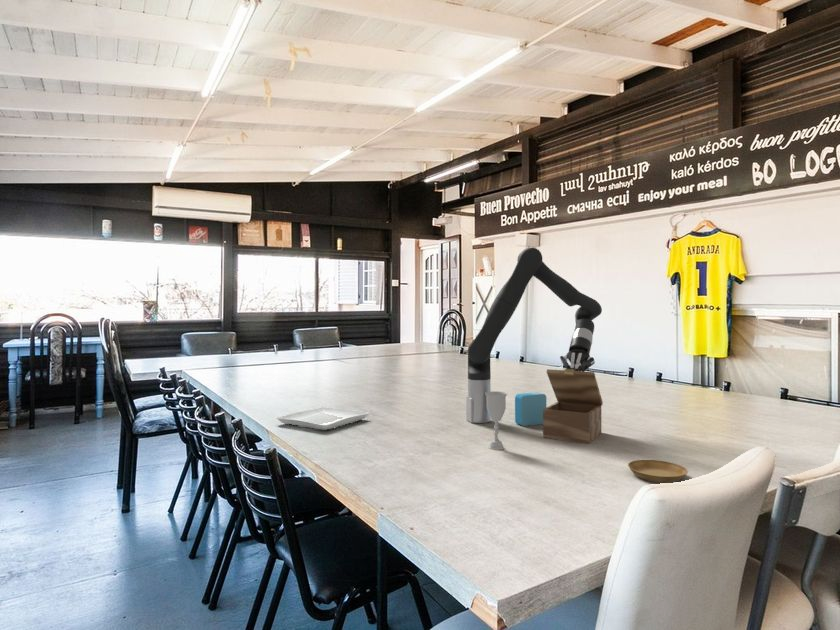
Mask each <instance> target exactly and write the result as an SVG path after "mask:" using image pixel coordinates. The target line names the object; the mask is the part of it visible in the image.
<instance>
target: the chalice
mask: <svg viewBox="0 0 840 630" xmlns="http://www.w3.org/2000/svg"><path fill="white" fill-rule="evenodd" d="M485 394H486V396H487V410H488V413H489V415H490V417H491V421H493V422H494V426H493V428H494V431H493V434H494V438H493V439H492V440H491V441H490V443H489V446H488V449H490V450H497V451H498V450H499V451H500V450H503V449H505V446H504V444H503V442H502V440H500V439H499V430H498V429H499V428H500V427H499V422H500V421H501V420H502V418H503V416H504V414H505V412H506V397H507V395H508V393H507V392H505V391H491V392H485Z"/></svg>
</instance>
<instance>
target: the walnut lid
mask: <svg viewBox="0 0 840 630" xmlns="http://www.w3.org/2000/svg"><path fill="white" fill-rule="evenodd" d="M546 375H547V377H548V380H549V382H550V385H551V388H552V390H553V394H554V396H555V398H556V402H558V401H559V402H570V403H581V404H592V405H601V406H603V399H602V395H601V391H600V388H599V384H598V381H597V378H596V373H595V371H574V369H566V368H565V369H546Z"/></svg>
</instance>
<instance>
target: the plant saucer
mask: <svg viewBox="0 0 840 630" xmlns="http://www.w3.org/2000/svg"><path fill="white" fill-rule="evenodd" d="M627 466H628V468H629V470H630V471H631V472H632V473H633V474H634V475H635V476H636V477H637V478H639V477H640V478H639V479H641V478H642V480H644V479H645V480H644V481H647V482H648V481H649V482H653V483H661V484H663V483H664V484H666V483H665V482H673V483H676V481H677V482H679V481H680V480H682V479H683V478H684V477H686V476H687V474H688V473H689V471H688V469H687V468H686V467H684V466H683V465H680V464H677V463H675V462H671V461H665V460H659V459H636V460H632V461H630V462H628V464H627Z"/></svg>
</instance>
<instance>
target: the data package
mask: <svg viewBox="0 0 840 630" xmlns="http://www.w3.org/2000/svg"><path fill="white" fill-rule="evenodd" d="M545 408H547V395H546V394H545V393H542V392H537V391H536V392H528V393H527V392H526V393H525V392H524V393H517V394H516V395H515V396H514V422H515V423H516V424H517V425H520V426H522V427H529V426H528V425H530V426H536V425H537V424H539V425H543V409H545Z"/></svg>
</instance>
